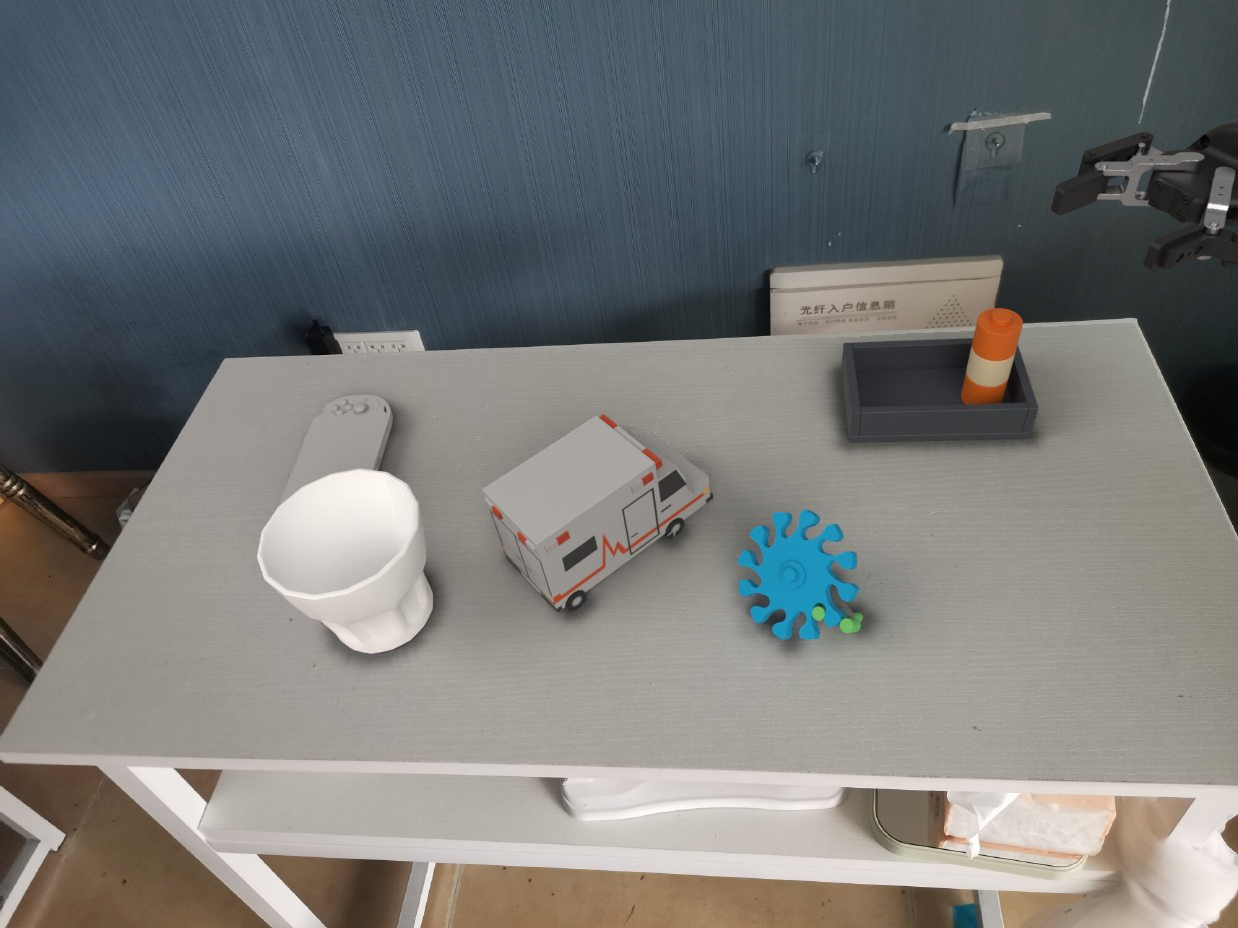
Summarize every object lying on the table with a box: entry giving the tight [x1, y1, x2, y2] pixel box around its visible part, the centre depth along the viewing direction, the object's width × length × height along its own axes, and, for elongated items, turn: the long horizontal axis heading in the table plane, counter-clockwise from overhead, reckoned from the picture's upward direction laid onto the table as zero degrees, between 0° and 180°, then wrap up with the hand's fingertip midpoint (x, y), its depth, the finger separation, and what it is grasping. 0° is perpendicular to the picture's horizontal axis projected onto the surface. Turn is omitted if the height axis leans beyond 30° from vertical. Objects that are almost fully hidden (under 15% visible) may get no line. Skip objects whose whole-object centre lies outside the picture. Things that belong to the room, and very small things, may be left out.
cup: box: [256, 469, 434, 655], centre depth 71 cm, size 12×12×11 cm
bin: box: [840, 337, 1040, 443], centre depth 82 cm, size 16×10×4 cm, turn 85°
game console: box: [276, 394, 394, 509], centre depth 86 cm, size 18×2×8 cm
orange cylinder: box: [961, 307, 1024, 404], centre depth 78 cm, size 4×4×10 cm
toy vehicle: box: [481, 413, 714, 613], centre depth 73 cm, size 10×17×10 cm, turn 129°
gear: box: [737, 509, 864, 641], centre depth 69 cm, size 11×6×10 cm
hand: (1101, 228), depth 62 cm, fingers open, 8 cm apart
